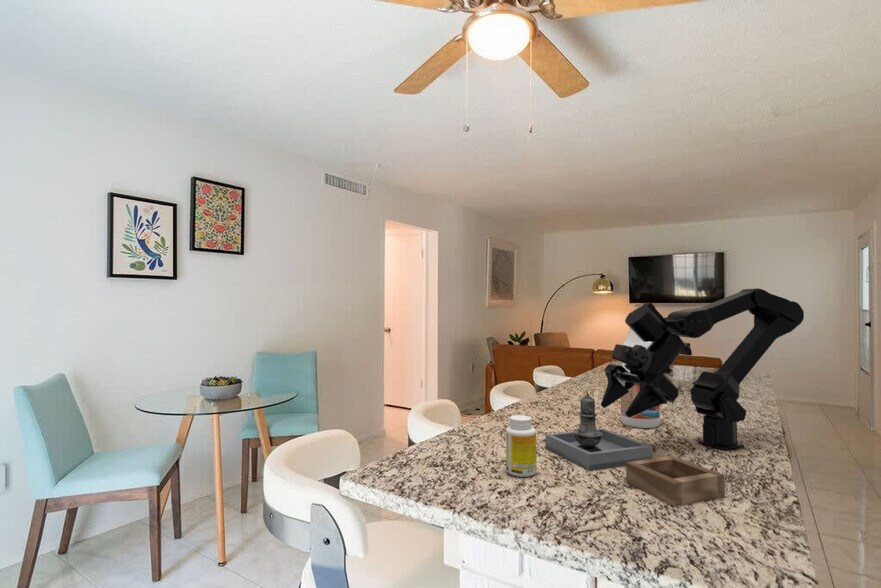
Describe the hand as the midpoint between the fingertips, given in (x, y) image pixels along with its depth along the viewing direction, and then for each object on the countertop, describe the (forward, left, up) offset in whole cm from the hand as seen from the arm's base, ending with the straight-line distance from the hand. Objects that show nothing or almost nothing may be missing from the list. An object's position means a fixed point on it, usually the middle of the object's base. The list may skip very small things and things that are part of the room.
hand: (614, 410), depth 99 cm
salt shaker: (+6, -1, -8) cm, 10 cm away
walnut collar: (+4, +20, -9) cm, 22 cm away
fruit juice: (-23, -17, -9) cm, 30 cm away
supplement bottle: (+24, +4, -9) cm, 26 cm away
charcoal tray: (+4, 0, -9) cm, 10 cm away
